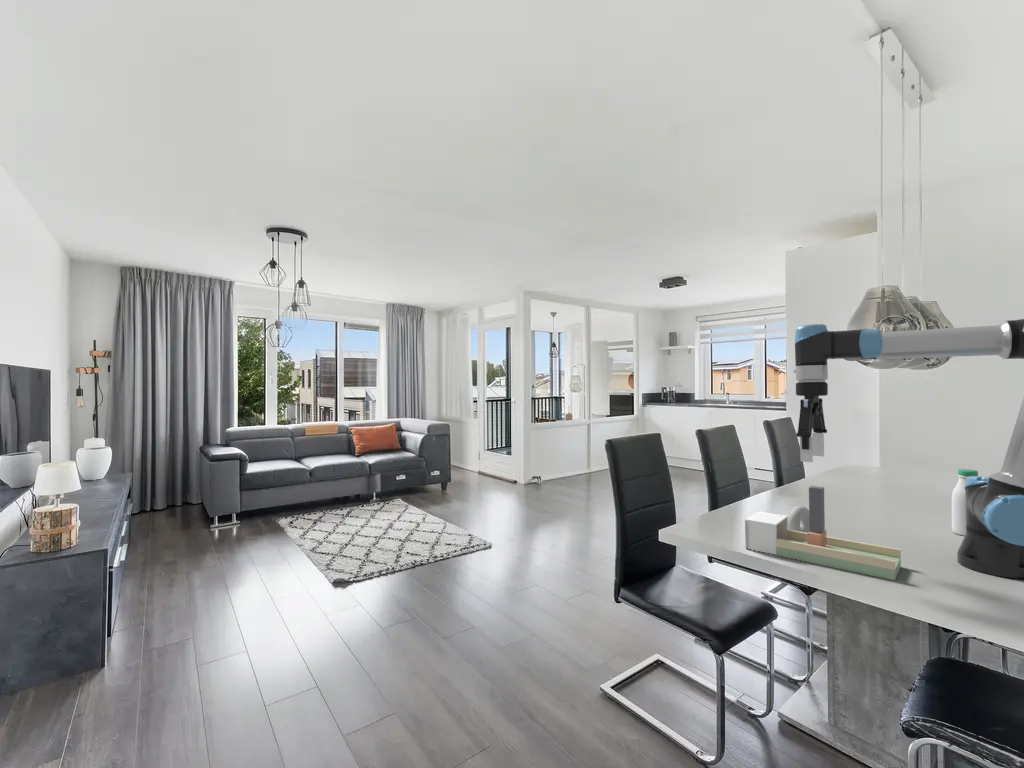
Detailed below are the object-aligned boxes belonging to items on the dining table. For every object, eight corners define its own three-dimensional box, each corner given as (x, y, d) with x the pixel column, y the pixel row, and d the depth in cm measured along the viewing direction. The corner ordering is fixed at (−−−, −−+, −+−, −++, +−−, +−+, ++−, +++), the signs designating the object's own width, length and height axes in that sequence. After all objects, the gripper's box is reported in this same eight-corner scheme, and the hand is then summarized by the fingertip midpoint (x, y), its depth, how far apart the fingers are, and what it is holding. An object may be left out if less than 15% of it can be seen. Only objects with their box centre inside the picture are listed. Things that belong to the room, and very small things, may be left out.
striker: (826, 544, 135) (825, 486, 135) (820, 550, 130) (819, 490, 130) (814, 541, 137) (813, 484, 137) (807, 548, 132) (807, 488, 132)
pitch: (900, 566, 126) (900, 533, 126) (895, 580, 117) (894, 544, 117) (758, 539, 149) (758, 511, 149) (745, 548, 141) (745, 519, 141)
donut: (796, 542, 146) (796, 509, 146) (785, 539, 149) (784, 506, 149) (814, 537, 151) (814, 504, 151) (802, 534, 154) (802, 502, 154)
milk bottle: (956, 536, 151) (955, 471, 151) (948, 529, 157) (947, 467, 157) (990, 539, 147) (989, 472, 147) (980, 532, 154) (979, 468, 154)
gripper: (806, 381, 146) (808, 452, 146) (783, 381, 128) (784, 462, 128) (836, 381, 141) (837, 454, 141) (816, 381, 123) (818, 465, 123)
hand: (812, 458), depth 135 cm, fingers open, 13 cm apart
